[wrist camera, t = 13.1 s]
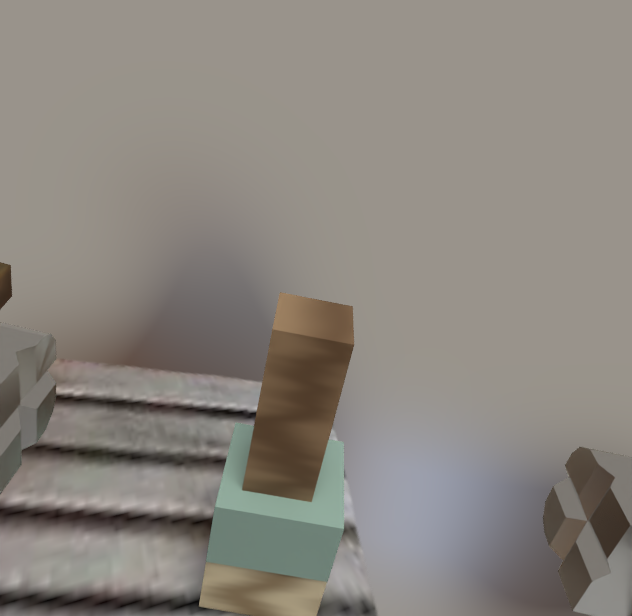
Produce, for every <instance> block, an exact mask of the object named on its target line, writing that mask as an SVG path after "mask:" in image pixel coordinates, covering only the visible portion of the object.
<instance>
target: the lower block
mask: <svg viewBox="0 0 632 616" xmlns="http://www.w3.org/2000/svg"><path fill="white" fill-rule="evenodd" d="M326 583H327V582H325V581H319V580H313V579H307V578H301V577H295V576H289V575H283V574H277V573H271V572H265V571H259V570H253V569H247V568H241V567H235V566H229V565H223V564H217V563H211V562H206V566H205V572H204V578H203V584H202V590H201V596H200V602H199V606H200V607H205V608H211V609H217V610H223V611H229V612H234V613H240V614H246V615H252V616H316V615H317V612H318V609H319V606H320V603H321V599H322V596H323V593H324V590H325V587H326Z"/></svg>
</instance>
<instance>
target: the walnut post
mask: <svg viewBox="0 0 632 616" xmlns="http://www.w3.org/2000/svg"><path fill="white" fill-rule="evenodd" d="M353 347H354V330H353V307H352V306H348V305H342V304H337V303H332V302H327V301H322V300H317V299H312V298H306V297H301V296H296V295H291V294H286V293H280V295H279V300H278V305H277V310H276V315H275V319H274V324H273V329H272V335H271V340H270V345H269V350H268V356H267V361H266V367H265V371H264V377H263V382H262V387H261V392H260V398H259V403H258V408H257V413H256V419H255V424H254V429H253V434H252V440H251V445H250V450H249V455H248V461H247V466H246V471H245V476H244V482H243V487H242V490H243V491H249V492H255V493H261V494H266V495H272V496H278V497H284V498H289V499H295V500H301V501H307V502H312V499H313V496H314V492H315V488H316V484H317V481H318V477H319V473H320V470H321V466H322V462H323V458H324V455H325V451H326V447H327V444H328V440H329V436H330V432H331V429H332V425H333V421H334V418H335V414H336V410H337V406H338V402H339V399H340V395H341V392H342V388H343V384H344V380H345V377H346V373H347V369H348V365H349V362H350V358H351V354H352V351H353Z"/></svg>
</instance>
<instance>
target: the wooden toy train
mask: <svg viewBox="0 0 632 616" xmlns="http://www.w3.org/2000/svg"><path fill="white" fill-rule="evenodd" d="M11 297H12V286H11V265H8V264H4V263H1V262H0V309H1V308H2V307H3V306H4V305H5V303H6V302H7V301H8V300H9V299H10V298H11Z"/></svg>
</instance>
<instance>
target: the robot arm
mask: <svg viewBox="0 0 632 616" xmlns="http://www.w3.org/2000/svg"><path fill="white" fill-rule="evenodd" d="M55 360H56V340H55V338H54V337H53V336H52V335H51V334H49V333H45V332H40V331H36V330H32V329H28V328H23V327H19V326H15V325H10V324H6V323H2V322H0V494H1V493H2V491H3V490H4V488H5V487H6V486H7V484H8V483H9V481H10V480H11V478H12V477H13V476H14V474H15V473H16V471H17V470H18V469H19V467H20V466H21V450H22V449H25V448H27V447H29V446H31V445H33V444H35V443H37V442H38V440H39V439H40V437H41V436H42V434H43V433H44V431H45V430H46V427H47V425H48V422H49V420H50V417H51V415H52V412H53V408H54V403H55V398H56V382H55V381H54V379H53V378H52V376H51V375H50V374H49V372H48V371H47V370H48V369H49V367H50V366H51V365H52V364H53V362H54V361H55ZM565 467H566V471H567V474H568V478H567V479H565V480H563V481H561V482H560V483H558V484H556V485H554V486H553V488H552V490H551V492H550V493H549V495H548V497H547V500H546V501H545V508H544V515H543V524H544V532H545V535H546V539H547V542H548V545H549V546H550V548H551V549H552V550H553V551H554V552H555V553H556V554H557V555H558V556H559V557H560V558H561V559H562V560H563V562H562V564H561V566H560V568H559V570H558V573H559V575H560V578H561V581H562V584H563V586H564V589H565V592H566V595H567V597H568V600H569V603H570V606H571V608H572V611H574V612H579V613H583V614H587V615H592V616H632V457H629V456H624V455H619V454H614V453H609V452H604V451H599V450H594V449H589V448H584V447H579V448H578V449H577V450H575V451H574V452H573V453H572V454H571V456H570V457H569V459H568V461H567V463H566V464H565Z"/></svg>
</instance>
